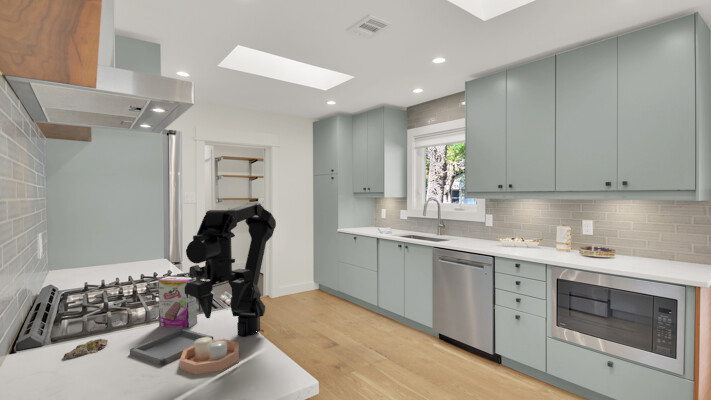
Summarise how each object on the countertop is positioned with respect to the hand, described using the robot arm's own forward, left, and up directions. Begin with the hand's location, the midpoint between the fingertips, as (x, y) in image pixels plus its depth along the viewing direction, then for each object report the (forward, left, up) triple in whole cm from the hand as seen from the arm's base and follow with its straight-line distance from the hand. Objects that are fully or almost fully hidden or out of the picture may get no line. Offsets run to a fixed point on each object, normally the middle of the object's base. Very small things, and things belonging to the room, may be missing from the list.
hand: (221, 312), depth 97 cm
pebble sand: (+4, -3, -11) cm, 12 cm away
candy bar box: (-8, -30, -12) cm, 33 cm away
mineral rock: (+16, -36, -12) cm, 42 cm away
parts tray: (+4, -16, -12) cm, 20 cm away
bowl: (+4, 0, -12) cm, 13 cm away
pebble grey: (+4, +3, -11) cm, 12 cm away
